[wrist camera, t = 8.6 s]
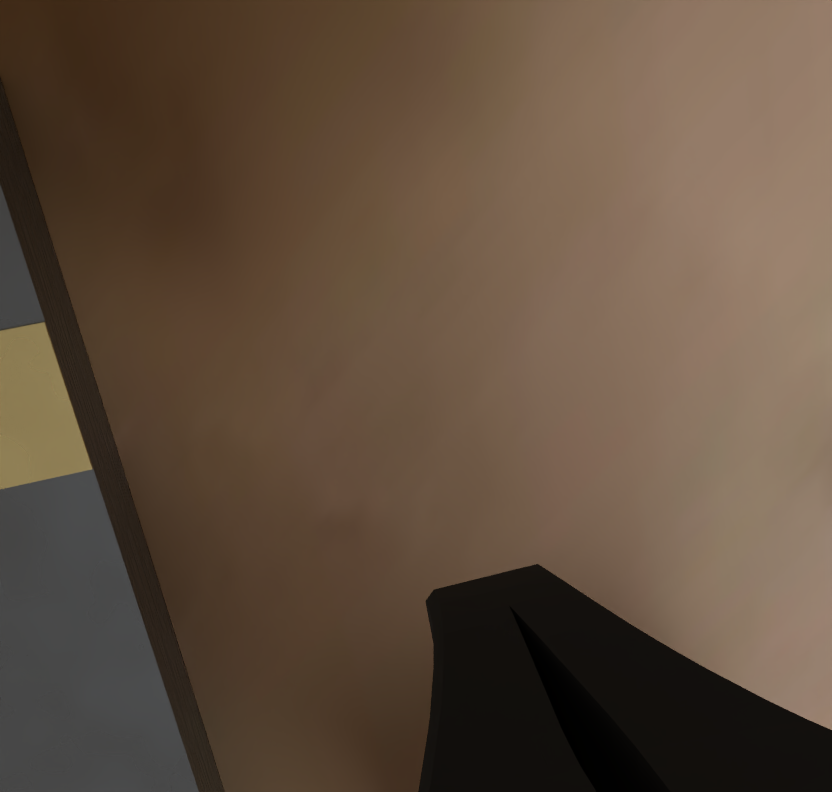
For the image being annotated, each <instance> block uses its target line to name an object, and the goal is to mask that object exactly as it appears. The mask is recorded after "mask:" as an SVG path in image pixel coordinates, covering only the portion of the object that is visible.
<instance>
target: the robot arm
mask: <svg viewBox="0 0 832 792" xmlns="http://www.w3.org/2000/svg"><path fill="white" fill-rule="evenodd" d="M426 606H427V611H428V617H429V622H430V627H431V632H432V638H433V643H434V670H433V683H432V697H431V711H430V721H429V729H428V736H427V742H426V748H425V754H424V761H423V767H422V773H421V779H420V786H419V791H418V792H832V730H830V729H828V728H825V727H823V726H821V725H819V724H816V723H814V722H812V721H809V720H807V719H805V718H803V717H801V716H799V715H797V714H794V713H792V712H790V711H788V710H786V709H784V708H782V707H780V706H778V705H776V704H774V703H771V702H769V701H767V700H765V699H764V698H762V697H760V696H758V695H756V694H754V693H752V692H750V691H748V690H746V689H744V688H742V687H741V686H739V685H737V684H735V683H733V682H731V681H729V680H727V679H725V678H723V677H721V676H719V675H717V674H716V673H714V672H712V671H710V670H708V669H706V668H704V667H703V666H701V665H699V664H697V663H695V662H694V661H692V660H690V659H688V658H687V657H685V656H683V655H681V654H679V653H678V652H676V651H674V650H673V649H671V648H669V647H667V646H666V645H664V644H662V643H661V642H659V641H657V640H656V639H654V638H652V637H651V636H649V635H647V634H646V633H644V632H642V631H641V630H639V629H637V628H636V627H634V626H632V625H631V624H629V623H628V622H626V621H625V620H623V619H621V618H620V617H618V616H617V615H615V614H614V613H612V612H610V611H609V610H607V609H606V608H604V607H603V606H601V605H600V604H598V603H597V602H595V601H593V600H592V599H590V598H589V597H587V596H586V595H584V594H583V593H581V592H580V591H578V590H577V589H575V588H574V587H572V586H571V585H569V584H568V583H566V582H565V581H563V580H561V579H560V578H558V577H557V576H555V575H554V574H552V573H551V572H549V571H548V570H546V569H545V568H543V567H542V566H540V565H538V564H536V565H532V566H528V567H524V568H520V569H516V570H512V571H508V572H504V573H500V574H496V575H491V576H487V577H483V578H479V579H475V580H471V581H467V582H463V583H459V584H455V585H451V586H447V587H443V588H439V589H435V590H433V592H432V593H431V594H430V596H429V597H428V599H427V600H426Z"/></svg>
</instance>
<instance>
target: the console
mask: <svg viewBox="0 0 832 792" xmlns="http://www.w3.org/2000/svg"><path fill="white" fill-rule="evenodd" d="M0 792H224V789H223V786H222V783H221V780H220V777H219V774H218V770H217V767H216V764H215V761H214V758H213V754H212V751H211V748H210V745H209V742H208V738H207V735H206V732H205V729H204V726H203V723H202V719H201V716H200V713H199V710H198V707H197V703H196V700H195V697H194V694H193V691H192V687H191V684H190V681H189V678H188V675H187V672H186V668H185V665H184V662H183V659H182V656H181V652H180V649H179V646H178V643H177V640H176V636H175V633H174V630H173V627H172V624H171V621H170V617H169V614H168V611H167V608H166V605H165V601H164V598H163V595H162V592H161V589H160V585H159V582H158V579H157V576H156V573H155V570H154V566H153V563H152V560H151V557H150V554H149V550H148V547H147V544H146V541H145V538H144V534H143V531H142V528H141V525H140V522H139V518H138V515H137V512H136V509H135V506H134V503H133V499H132V496H131V493H130V490H129V487H128V483H127V480H126V477H125V474H124V471H123V467H122V464H121V461H120V458H119V455H118V452H117V448H116V445H115V442H114V439H113V436H112V432H111V429H110V426H109V423H108V420H107V416H106V413H105V410H104V407H103V404H102V401H101V397H100V394H99V391H98V388H97V385H96V381H95V378H94V375H93V372H92V369H91V365H90V362H89V359H88V356H87V353H86V350H85V346H84V343H83V340H82V337H81V334H80V330H79V327H78V324H77V321H76V318H75V314H74V311H73V308H72V305H71V302H70V298H69V295H68V292H67V289H66V286H65V283H64V279H63V276H62V273H61V270H60V267H59V263H58V260H57V257H56V254H55V251H54V247H53V244H52V241H51V238H50V235H49V232H48V228H47V225H46V222H45V219H44V216H43V212H42V209H41V206H40V203H39V200H38V196H37V193H36V190H35V187H34V184H33V181H32V177H31V174H30V171H29V168H28V165H27V161H26V158H25V155H24V152H23V149H22V145H21V142H20V139H19V136H18V133H17V130H16V126H15V123H14V120H13V117H12V114H11V110H10V107H9V104H8V101H7V98H6V94H5V91H4V88H3V85H2V82H1V78H0Z"/></svg>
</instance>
